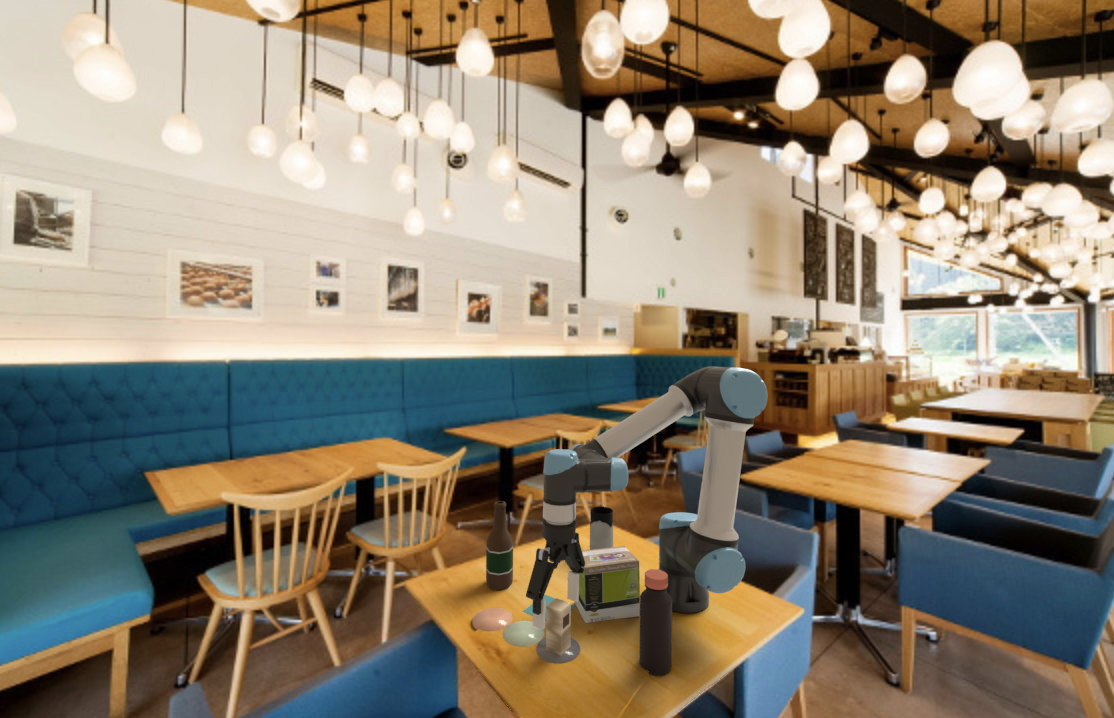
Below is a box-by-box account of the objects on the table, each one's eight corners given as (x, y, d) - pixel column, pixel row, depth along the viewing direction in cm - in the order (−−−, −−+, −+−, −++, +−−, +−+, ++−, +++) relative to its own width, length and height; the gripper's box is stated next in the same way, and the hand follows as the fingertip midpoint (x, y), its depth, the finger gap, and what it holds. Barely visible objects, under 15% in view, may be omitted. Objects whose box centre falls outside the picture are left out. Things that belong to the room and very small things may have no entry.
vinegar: (644, 677, 96) (645, 582, 96) (635, 656, 103) (636, 567, 102) (676, 675, 97) (677, 581, 96) (665, 654, 103) (666, 566, 103)
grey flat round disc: (588, 647, 106) (588, 644, 106) (564, 672, 97) (564, 669, 97) (552, 632, 111) (552, 629, 111) (527, 654, 103) (527, 651, 103)
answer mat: (575, 608, 122) (575, 606, 122) (554, 626, 113) (554, 624, 113) (545, 596, 127) (545, 594, 127) (522, 613, 119) (522, 611, 119)
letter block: (570, 647, 105) (571, 603, 105) (561, 656, 101) (561, 611, 101) (556, 640, 107) (556, 598, 107) (546, 649, 104) (546, 605, 104)
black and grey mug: (585, 558, 151) (586, 513, 151) (594, 541, 165) (594, 499, 165) (612, 562, 149) (612, 516, 149) (618, 544, 162) (618, 502, 162)
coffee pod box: (625, 597, 127) (625, 544, 127) (640, 617, 118) (641, 560, 117) (573, 604, 124) (573, 549, 123) (584, 626, 114) (584, 566, 114)
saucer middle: (552, 632, 111) (552, 629, 111) (527, 654, 103) (527, 651, 103) (520, 618, 117) (520, 616, 117) (494, 638, 109) (494, 636, 109)
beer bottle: (518, 583, 135) (518, 501, 134) (498, 593, 129) (499, 508, 128) (500, 574, 140) (500, 496, 139) (480, 584, 134) (480, 502, 133)
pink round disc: (520, 618, 117) (520, 616, 117) (494, 638, 109) (494, 636, 109) (491, 606, 123) (491, 603, 122) (464, 624, 114) (464, 621, 114)
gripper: (574, 502, 116) (572, 585, 116) (510, 532, 96) (508, 633, 96) (600, 508, 112) (598, 594, 112) (539, 541, 91) (537, 647, 92)
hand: (556, 612), depth 104 cm, fingers open, 13 cm apart
